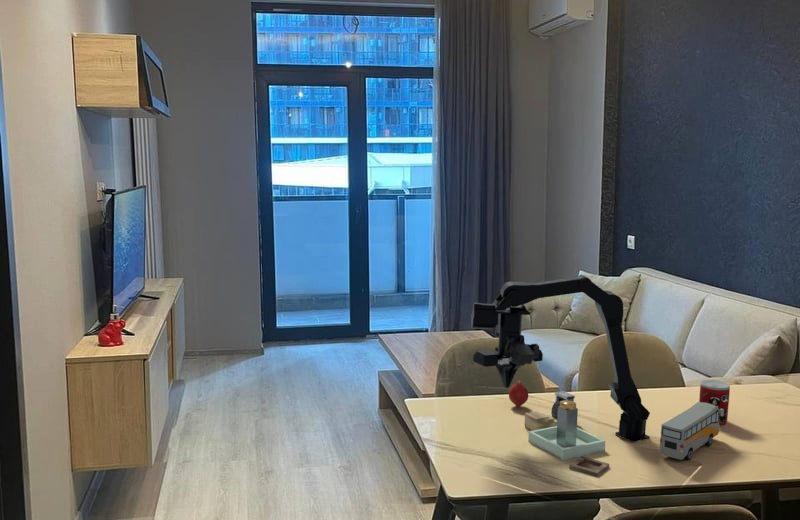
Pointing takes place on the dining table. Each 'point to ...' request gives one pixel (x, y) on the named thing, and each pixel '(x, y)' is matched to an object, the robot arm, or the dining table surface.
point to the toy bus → (690, 431)
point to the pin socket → (589, 466)
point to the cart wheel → (560, 397)
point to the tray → (583, 447)
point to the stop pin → (567, 424)
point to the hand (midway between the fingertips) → (506, 387)
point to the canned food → (716, 396)
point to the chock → (539, 421)
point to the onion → (518, 394)
